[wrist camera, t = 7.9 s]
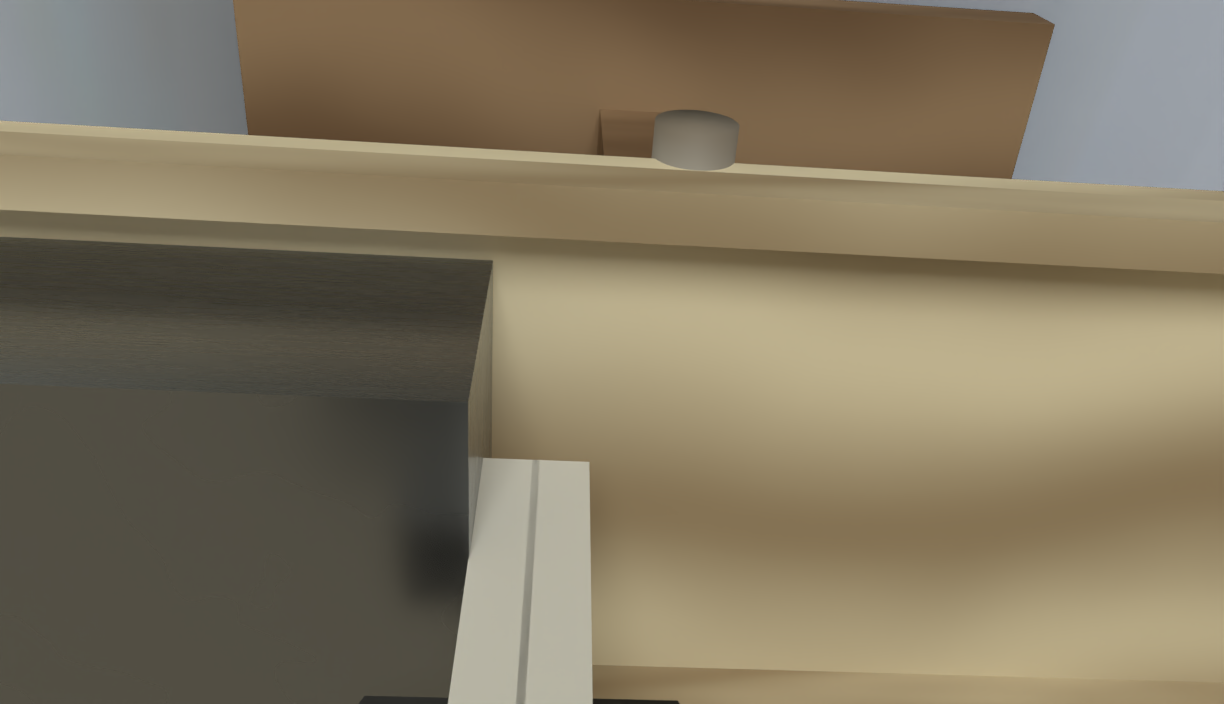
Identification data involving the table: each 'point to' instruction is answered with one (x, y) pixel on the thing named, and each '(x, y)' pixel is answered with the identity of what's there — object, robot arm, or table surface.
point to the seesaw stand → (651, 77)
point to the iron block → (236, 471)
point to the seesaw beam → (789, 393)
